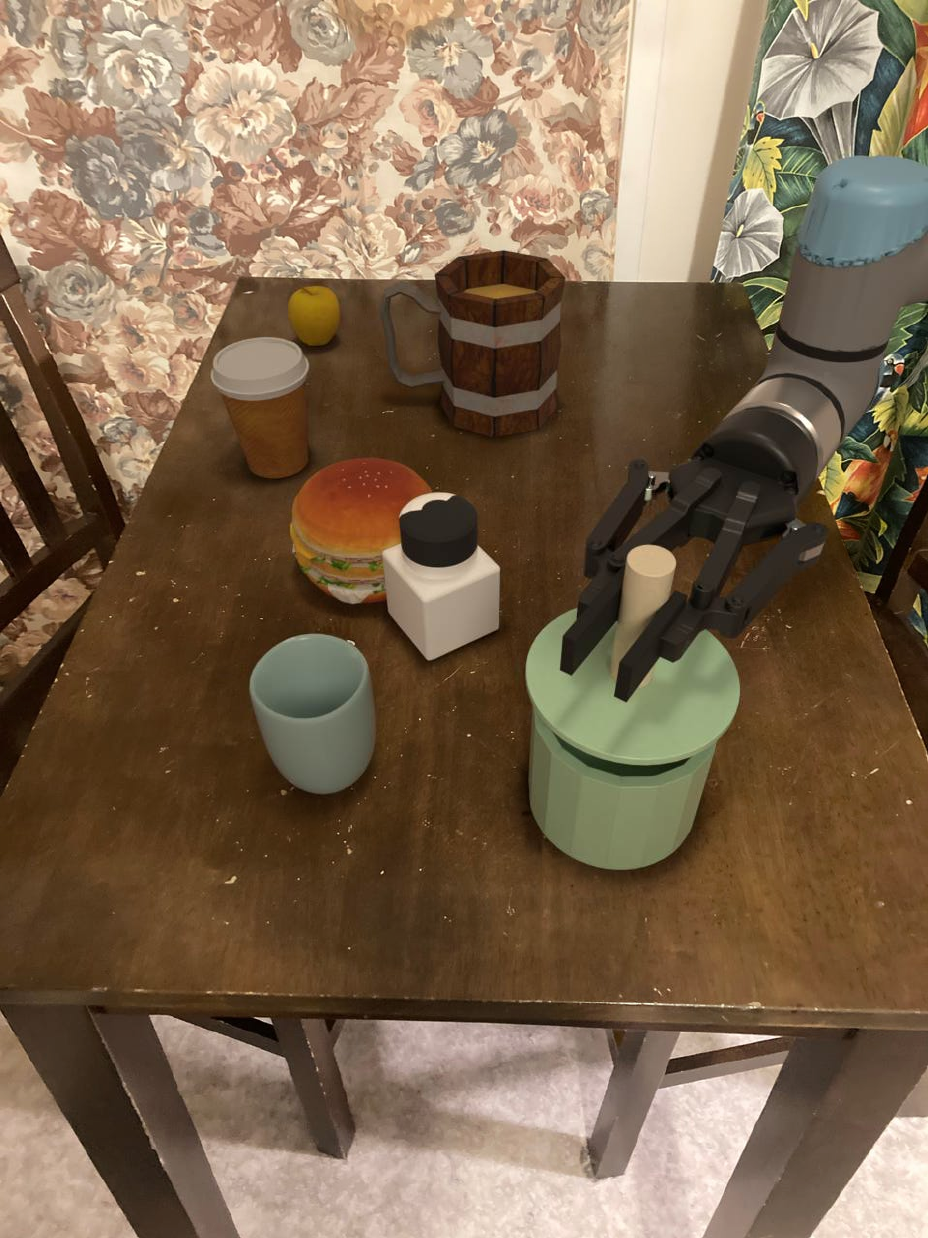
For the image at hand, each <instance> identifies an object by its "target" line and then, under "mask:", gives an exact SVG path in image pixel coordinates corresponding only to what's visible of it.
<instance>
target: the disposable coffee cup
mask: <svg viewBox="0 0 928 1238" xmlns="http://www.w3.org/2000/svg"><path fill="white" fill-rule="evenodd" d="M213 357H214V358H213V360H212V368H211V371H210V379H211V382H212V384H213V386H215V388H216V389H217V390H218V391H219V393H220V396H221V399H222V400H223V403H224V405H225V408H226V411H227V413H228V416H229V419H230V421H231V424H232V427H233V430H234V432H235V434H236V436H237V440H238V442H239V444H240V446H241V450H242V452H243V455H244V458H245V460H246V462H247V465H248V468H249V470H250V472H252V473H253V474H254V475H256V476H258V477H260V478H265V479H282V478H287V477H290V476H293V475H296V474H297V473H299V472H301V471H302V470H303V469H305V467H306V466H307V465H308V463H309V439H308V437H309V435H308V408H307V407H308V404H307V378H308V374H309V370H310V363H309V361H308V358H307V357H305V355H304V353H303V350H302V349H301V347H300V346H299V345H298V344H297V343H295V342H293V341H290V340H287V339H285V338H280V337H269V336H261V337H259V336H258V337H251V338H247V339H243V340H239V341H236V342H233V343H231V344H229V345H227V346H225V347H224V348H222V349H220V350H219V351H218V352H217V353H216V354H215V356H213Z"/></svg>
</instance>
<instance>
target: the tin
mask: <svg viewBox="0 0 928 1238" xmlns="http://www.w3.org/2000/svg"><path fill="white" fill-rule="evenodd" d="M530 725H531V727H530V729H531V730H530V743H529V745H530V746H529V760H528V761H529V763H528V779H527V780H528V799H529V806H530V809H531V813H532V816H533V818H534V820H535V822H536V824H537V826H538V828H539V829H540V830H541V832H542V833H543V835H544V836H545V837H546V838H547V839H548V841H549V842H551V843H552V844H553V845H554V846H555V847H556V848H557V849H558V850H560V851H561V852H563V853H564V854H565V855H566V856H569V857H571V858H572V859H574V860H576V861H578V862H581V863H583V864H586V865H589V866H592V867H595V868H601V869H606V870H618V871H625V870H627V871H628V870H636V869H640V868H641V869H642V868H645V867H649V866H651V865H654V864H656V863H658V862H660V861H662V860H664V859H666V858H667V857H669V856H670V855H672V854H673V853H674V852H675V851H676V850H678V848H680V846H681V845H682V844H683V843H684V841H685V840H686V838H687V836H688V835H689V834H690V833H691V830H692V828H693V824H694V821H695V818H696V815H697V811H698V808H699V804H700V801H701V798H702V794H703V791H704V789H705V788H704V787H705V785H706V782H707V778H708V775H709V771H710V768H711V765H712V762H713V758H714V755H715V752H716V747H717V744H718V740H717V741H716V742H715V743H714V744H712V745H711V746H709V747H708V748H706V749H705V750H703V751H702V752H700V753H698V754H695V755H693V756H691V757H689V758H686V759H683V760H679V761H676V762H671V763H666V764H658V765H630V764H623V763H616V762H612V761H608V760H604V759H601V758H598V757H595V756H593V755H590V754H587V753H585V752H583V751H581V750H579V749H577V748H575V747H574V746H572V745H570V744H569V743H567V742H566V741H564V740H563V739H561V738H560V737H559V736H558V735H556V734H555V733H554V732H553V731H552V730H551V729H550V728H549V727H548V726H547V725H546V724H545V723H544V722H543V720H542V719H541V718H540V716H539V715H538V714H537V712H536V710H535V709H534V707H533V705H532V708H531V724H530Z"/></svg>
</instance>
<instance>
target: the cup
mask: <svg viewBox="0 0 928 1238" xmlns="http://www.w3.org/2000/svg"><path fill="white" fill-rule="evenodd" d="M248 685H249V686H248V687H249V689H248V693H249V697H250V701H251V702H250V703H251V707H252V710H253V713H254V716H255V719H256V722H257V726H258V728H259V733H260V736H261V738H262V740H263V744H264V746H265V749H266V752H267V753H268V756H269V758H270V760H271V761H272V763H273V765H274V766H275V768H276V769H277V771H278V772H279V774H280V775H281V776H282V777H283V778H284V779H285V780H287V781H288V783H290V784H291V785H293V786H294V787H296V788H298V789H300V790H302V791H305V792H307V793H311V794H315V795H332V794H336V793H339V792H342V791H344V790H346V789H348V788H349V787H351V786H352V785H353V784H354V783H356V782H357V781H358V780H359V779H360V778H361V776H363V774H364V773H365V771H366V770H367V769H368V767H369V765H370V763H371V760H372V758H373V755H374V752H375V748H376V741H377V715H376V704H375V697H374V688H373V682H372V675H371V671H370V666H369V664H368V662H367V659H366V657H365V655H364V654H363V653H362V652H361V651H360V649H359V648H357V647H356V646H354V645H353V644H351V643H350V642H348V641H346V640H344V639H343V638H341V637H337V636H333V635H330V634H324V633H306V634H300V635H296V636H292V637H289V638H287V639H285V640H283V641H281V642H279V643H278V644H276V645H275V646H273V647H271V649H269V650H268V651H267V652H265V654H263V656H262V657H261V658H260V659H259V661H258V662H257V663H256V665H255V667H254V668H253V670H252V672H251V675H250V678H249V683H248Z"/></svg>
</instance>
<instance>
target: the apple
mask: <svg viewBox="0 0 928 1238" xmlns="http://www.w3.org/2000/svg"><path fill="white" fill-rule="evenodd" d="M299 288H300V289H298V290H296V291H294V293H293V294H292V295H291V297H290V298H289V300H288V305H287V316H288V320H289V324H290V326H291V327H292V329H293V331H294V332H295V334H296V335H297V338H298V339H299V340H300V341H301V342H302V343H303V344H306V345H308V346H309V347H317V346H321V347H322V346H326V345H327V344H329V342H330V341H331V340H332V339H333V337H334V336H335V334H336V333H337V330H338V328H339V326H340V321H341V308H340V303H339V300H338V297H337V295H336V294H335V293H334V292H333V291H332V290H331V289H330V288H329V287H326V286H322V285H310V286H305V287H303V286H301V285H299Z"/></svg>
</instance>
